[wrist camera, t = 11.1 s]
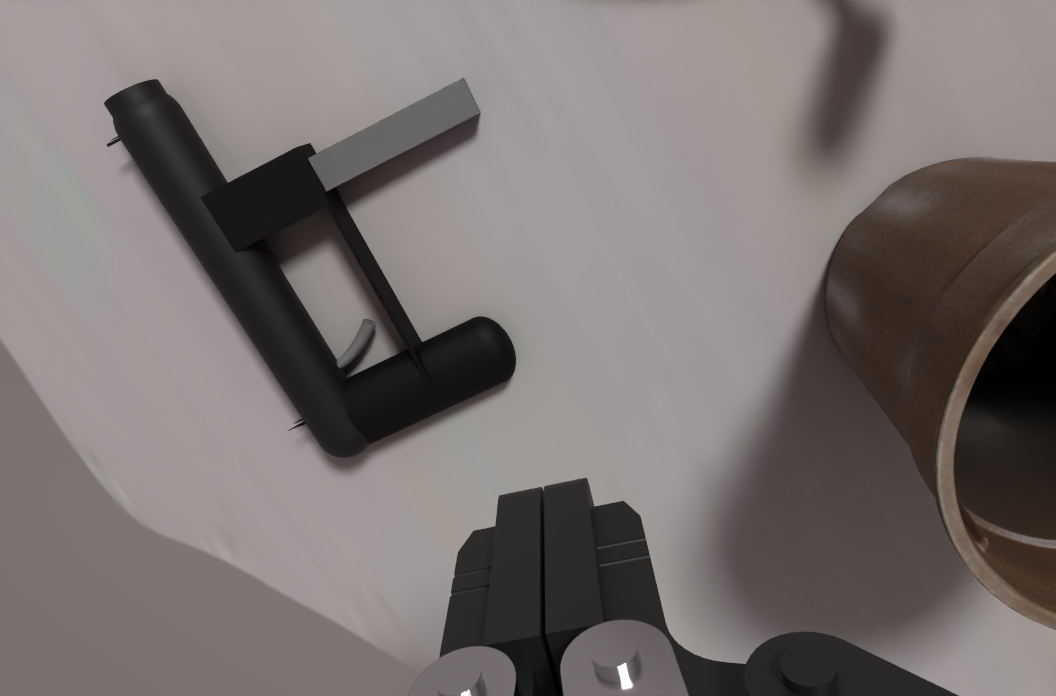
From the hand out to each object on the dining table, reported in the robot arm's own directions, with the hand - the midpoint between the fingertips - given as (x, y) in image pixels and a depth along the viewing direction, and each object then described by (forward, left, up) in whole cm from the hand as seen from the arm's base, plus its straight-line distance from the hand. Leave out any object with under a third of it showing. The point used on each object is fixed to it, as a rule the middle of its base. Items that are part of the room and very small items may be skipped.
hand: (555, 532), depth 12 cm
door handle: (+3, +8, -26) cm, 27 cm away
